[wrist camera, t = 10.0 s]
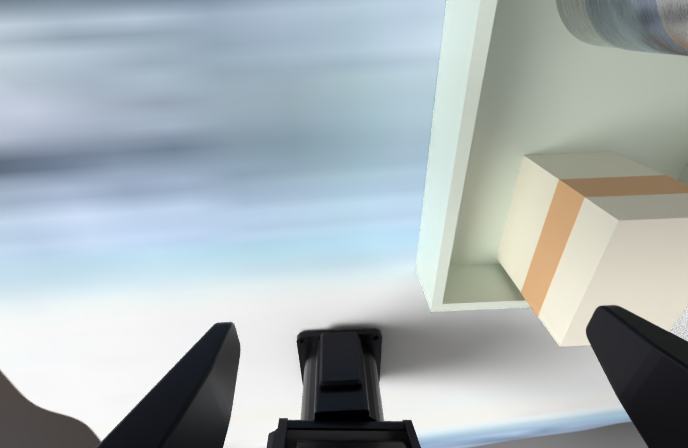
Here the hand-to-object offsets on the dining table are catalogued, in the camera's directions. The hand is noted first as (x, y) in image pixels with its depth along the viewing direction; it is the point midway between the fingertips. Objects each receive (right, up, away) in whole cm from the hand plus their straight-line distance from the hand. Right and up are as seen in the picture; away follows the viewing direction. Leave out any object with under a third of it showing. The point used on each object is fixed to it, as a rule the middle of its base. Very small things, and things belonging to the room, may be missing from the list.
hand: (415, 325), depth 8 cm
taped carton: (+11, +3, +12) cm, 16 cm away
